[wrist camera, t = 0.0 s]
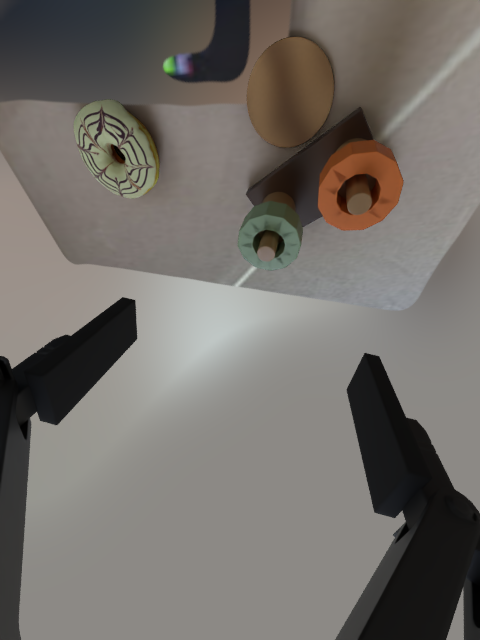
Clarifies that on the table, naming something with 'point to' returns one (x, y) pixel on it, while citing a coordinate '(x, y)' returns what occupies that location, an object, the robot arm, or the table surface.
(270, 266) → the green ring
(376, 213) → the orange ring
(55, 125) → the table surface
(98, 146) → the decorated donut
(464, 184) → the table surface
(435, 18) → the table surface
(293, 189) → the peg board
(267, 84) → the cork trivet
